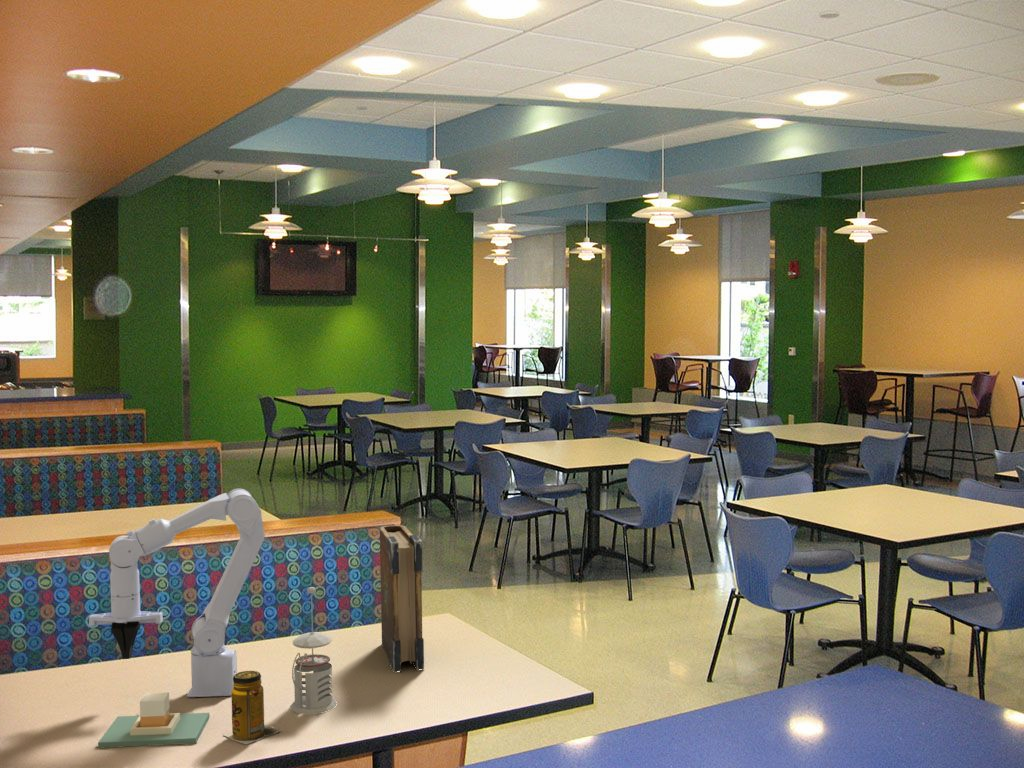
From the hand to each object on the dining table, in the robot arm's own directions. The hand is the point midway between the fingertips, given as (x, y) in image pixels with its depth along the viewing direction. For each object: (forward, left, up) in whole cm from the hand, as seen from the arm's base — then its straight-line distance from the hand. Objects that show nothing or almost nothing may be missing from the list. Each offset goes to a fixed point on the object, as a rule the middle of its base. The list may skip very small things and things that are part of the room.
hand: (127, 657), depth 217 cm
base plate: (-10, +18, -9) cm, 22 cm away
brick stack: (-10, +18, -8) cm, 22 cm away
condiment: (-29, +21, -10) cm, 37 cm away
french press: (-39, +8, -10) cm, 41 cm away
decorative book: (-57, -23, -10) cm, 62 cm away
